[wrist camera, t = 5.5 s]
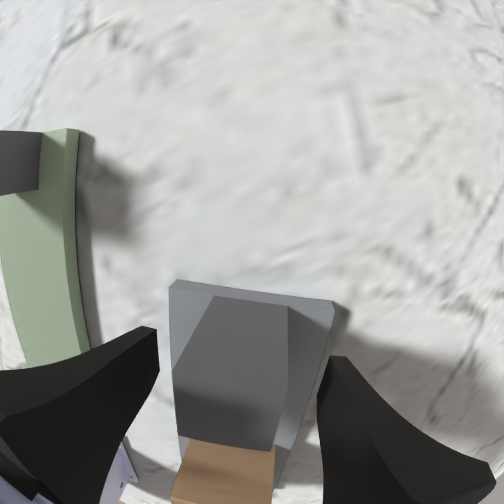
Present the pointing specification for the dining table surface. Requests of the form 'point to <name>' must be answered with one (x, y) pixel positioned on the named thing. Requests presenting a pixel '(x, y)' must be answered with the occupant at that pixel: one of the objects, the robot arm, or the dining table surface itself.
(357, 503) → the robot arm
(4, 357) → the dining table surface
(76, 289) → the olive strip
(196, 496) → the walnut block
